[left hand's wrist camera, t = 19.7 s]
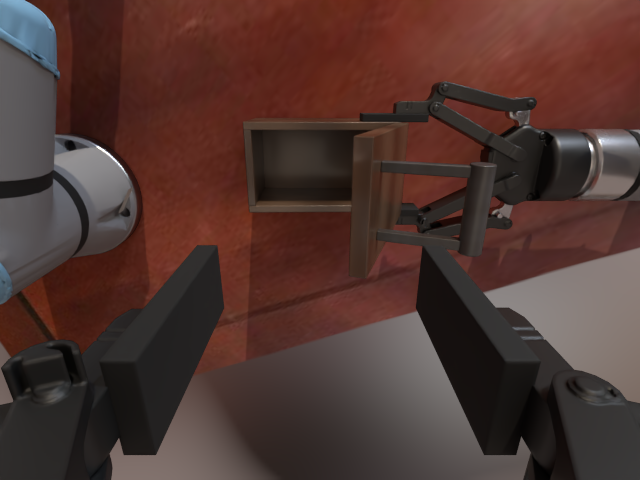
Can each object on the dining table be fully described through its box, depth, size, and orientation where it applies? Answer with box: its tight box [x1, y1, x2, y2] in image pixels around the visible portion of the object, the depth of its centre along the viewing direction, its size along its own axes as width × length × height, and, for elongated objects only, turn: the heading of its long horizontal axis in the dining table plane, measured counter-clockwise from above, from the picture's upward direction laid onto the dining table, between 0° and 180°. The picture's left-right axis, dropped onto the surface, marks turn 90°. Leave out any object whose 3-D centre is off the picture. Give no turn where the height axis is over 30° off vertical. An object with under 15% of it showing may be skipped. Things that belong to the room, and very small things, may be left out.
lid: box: [349, 123, 497, 279], centre depth 28 cm, size 16×9×8 cm
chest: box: [243, 118, 401, 212], centre depth 41 cm, size 15×9×9 cm, turn 90°
